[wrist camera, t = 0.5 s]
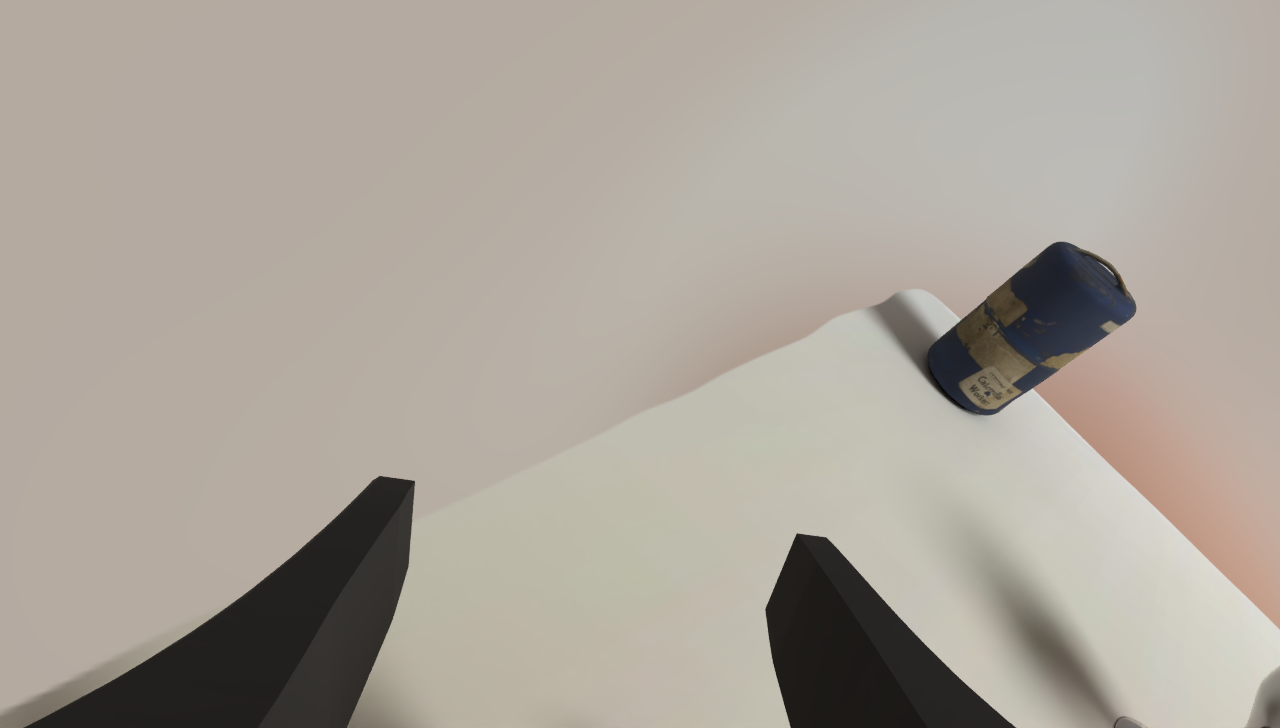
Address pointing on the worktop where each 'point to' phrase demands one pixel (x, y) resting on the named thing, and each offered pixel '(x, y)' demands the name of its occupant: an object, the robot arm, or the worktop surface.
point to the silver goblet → (1274, 716)
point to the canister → (1030, 328)
